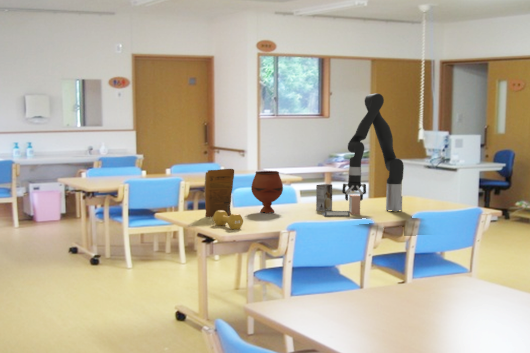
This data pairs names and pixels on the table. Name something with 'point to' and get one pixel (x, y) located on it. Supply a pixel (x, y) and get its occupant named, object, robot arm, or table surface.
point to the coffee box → (324, 197)
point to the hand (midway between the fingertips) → (353, 200)
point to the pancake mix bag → (218, 191)
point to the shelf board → (336, 213)
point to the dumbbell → (228, 219)
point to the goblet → (267, 188)
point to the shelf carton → (354, 204)
